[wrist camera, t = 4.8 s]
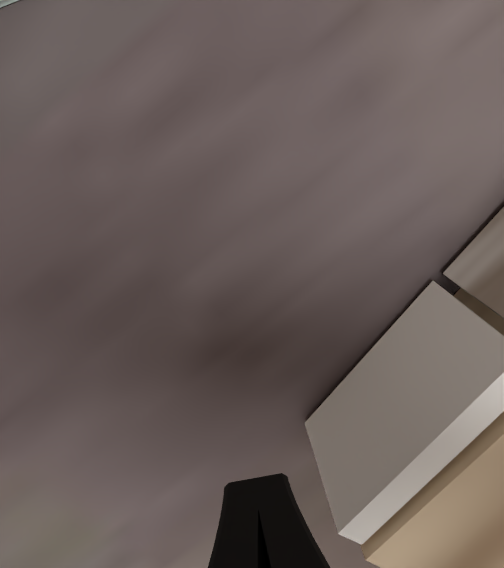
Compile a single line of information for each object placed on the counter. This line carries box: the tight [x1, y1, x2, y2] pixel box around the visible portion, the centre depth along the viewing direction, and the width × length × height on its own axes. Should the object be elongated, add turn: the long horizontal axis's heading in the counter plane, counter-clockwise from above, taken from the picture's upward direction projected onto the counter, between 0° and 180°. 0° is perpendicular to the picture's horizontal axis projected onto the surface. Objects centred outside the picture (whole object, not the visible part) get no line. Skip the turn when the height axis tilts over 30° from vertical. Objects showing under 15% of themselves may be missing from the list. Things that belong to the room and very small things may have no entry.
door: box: [305, 281, 504, 545], centre depth 15 cm, size 1×8×5 cm, turn 144°
